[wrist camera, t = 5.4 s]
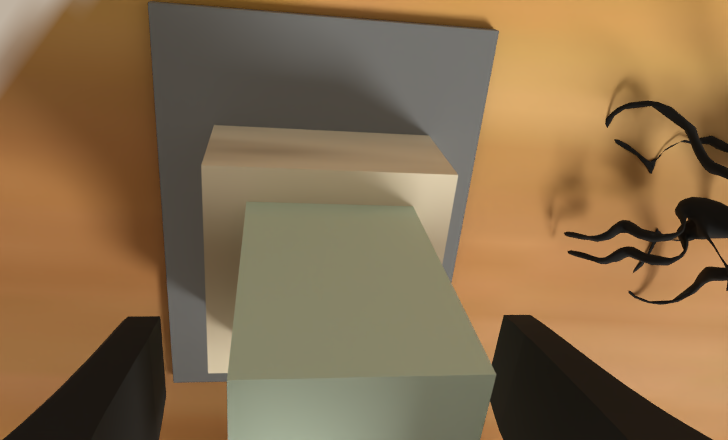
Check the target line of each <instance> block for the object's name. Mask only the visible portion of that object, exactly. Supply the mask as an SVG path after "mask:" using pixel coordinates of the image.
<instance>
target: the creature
mask: <svg viewBox="0 0 728 440" xmlns="http://www.w3.org/2000/svg"><path fill="white" fill-rule="evenodd" d="M647 106H652V107H654V108H655V109H656V110H658V111H659V112H660V113H662V114H663V115H665V116H666V117H667V118H669V119H670V120H671V121H673V122H674V123H675V124H677V125H678V126H680V127H681V128H682V129H684V130H685V132H686V134H687V136H688V138H689V140H690V141H688V140H683V141H681V142H685V143H690V144H691V145H692V148H693V150H694V153H695V155H696V157H697V159H698V160H699V161H700V163H701V164H702V166H703V167H704V169H705V170H707V171H708V172H709V173H711V174H714V175H719V176H721V177H724V178H726V179H728V168H727V167H724V166H722V165H720V164H717V163H715V162H714V161H713V160H712V159H710V158H709V156H708V155H707V153H706V152H705V150H704V148H703V145H702V144H709V145H711V146H713V147H715V148H716V149H719V150H722V151H724V152H727V153H728V144H727V143H726V142H724V141H722V140H720V139H718V138H716V137H713V136H708V137H703V138H700V139H699V136H698V133H697V130H696V127H694V126H693V125H692V124H691V123H690V122H688V121H687V120H686V119H685V118H684V117H683V116H681V115H680V114H679V113H678V112H677V111H675V110H674V109H673V108H672V107H670V106H667V105H665V104H662V103H659V102H654V101H640V102H631V103H628V104H625V105H623V106H621V107H619V108H617V109H616V110H614V111H613V112H612V113H611V114H610V115H609V116H608V117H607V119H606V123H605V125H606V127H607V128H608V126H609V124H610V123H611V121H612V119H613V117H614V116H615V115H617V114H618V113H620V112H621V111H622V110H624V109H630V108H639V107H647ZM614 140H615V142H616V143H617V144H618V145H620V146H621V147H623V148H625V149H626V150H628V151H630V152H632V153H633V154H635V155H637V156H638V158H639V159H640V160H641V161H642V162H643V163H644V164H645V165H646V167H647V168H648V170H649V172H650V173H652V171H653V169H654V166H655V162H656V160H657V159H658V158H659V157H660V156H661V154H662V153H663V152H664V151H665V150H667V149H669V148H670V147H672V146H674V145H676V144H678V143H676V144H674V145H672V146H670V147H668V148H667V149H665V150H664V151H663V152H662V153H661V154H660V155H659V157H658V158H656V159H654V160H653V161H651V162H650V161H648V160H646V159H645V158H644V157H643V156H641V155H640V154H639V153H638V152H636V151H635V150H634V149H633V148H631V147H630V146H629V145H627V144H625V143H624V142H622V141H620V140H616V139H614ZM675 213H676V215H677V217H678V218H679V219H680V222H681V224H682V225H681V226H680V227H679V228H678V230H677V232H676V233H671V234H661V232H660V231H658V229H656V232H653V231H649V230H644V229H642V228H640V227H639V226H637V225H636V224H634V223H632V222H631V221H627V220H622V221H619V222H617V223H616V224H615V225H613V226H612V227H611V228H610V229H609V230H608V231H607V232H605V233H603V234H600V235H596V236H587V235H583V234H579V233H575V232H565V233H564V234H565V235H566V236H568V237H573V238H578V239H583V240H591V241H596V242H598V241H604V240H609V239H611V238H613V237H615V236H616V235H618V234H619V233H629V234H631V235H633V236H635V237H637V238H639V239H643V240H646V241H650V242H652V245H651V247H650V249H649V252H648V253H644V252H642V251H640V250H638V249H636V248H634V247H623V248H620V249H618V250H616V251H615V252H613V253H612V254H610V255H609V256H607V257H604V258H598V257H595V256H591V255H589V254H586V253H582V252H578V251H572V250H571V251H568V253H569V254H571V255H573V256H577V257H580V258H584V259H587V260H591V261H594V262H597V263H600V264H608V263H611V262H617V261H620V260H622V259H624V258H626V257H628V256H629V257H632V258H634V259H637V260H639V261H641V262H640V263H639V264H638V265H637V266H636V268H635V269H634V271H633V273H634V272H635V271H637V270H638V269H639V268H640V267H642V266H643V264H644V263H648V264H650V265H670V264H672V263H674V262H675V261H677V260H679V259H680V258H682V257H683V256H684V254H685V253H686V251H687V248H688V241H691V240H694V239H707V240H708V241H709V242H710V243H711V244H712V246H713V247H714V248H715V250H716V252H717V253H718V255H719V256H720V254H719V252H718V250H717V249H716V247H715V245H714V244H713V242H712V241H711V239H710V238H728V206H726V205H724V204H722V203H721V202H717V201H714V200H710V199H707V198H700V197H690V198H687V199H684V200H682V201H680V202H679V204H678V205H677V207H676V209H675ZM686 218H688V221H686ZM677 236H678V238H679V240H675V239H674V238H675V237H677ZM669 240H674V241H681V244H682V247H683V249H684V251H683V252H682V253H681V254H680V255H679V256H676V257H673V258H666V257H661V256H656V255H651V254H650V253H651V251H652V249H653V247H654V245H655V243H656V242H659V241H669ZM720 258H721V260H722V262H723V263H724V265H725V268H719V267H705V268H704V269H703V270H702V271H701V273H700V274H699V275H698V277H697V278H696V280H695V282H694V283H693V284H692V285H691V286H690V287H689V288H687V289H686V290H685V291H683V292H682V293H681V294H680V295H678V296H677V297H676V298H675V299H673V300H670V301H647V300H645V299H642V298H640V297H637V296H635V295H634V294H633V293H632V292H631V291H629V294H631V295H632V296H633V297H634V298H637V299H639V300H641V301H644V302H647V303H652V304H669V303H674V302H678V301H680V300H682V299H684V298H686V297H688V296H690V295H692V294H694V293H695V292H697V291H698V290H699V289H700V288H701V287H702V286H703V285H704V284H705V283H707V282H710V281H724V280H727V281H728V265H727V264H726V263H725V261H724V260H723V259H722V257H721V256H720ZM726 290H727V291H728V282H727V289H726Z"/></svg>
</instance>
